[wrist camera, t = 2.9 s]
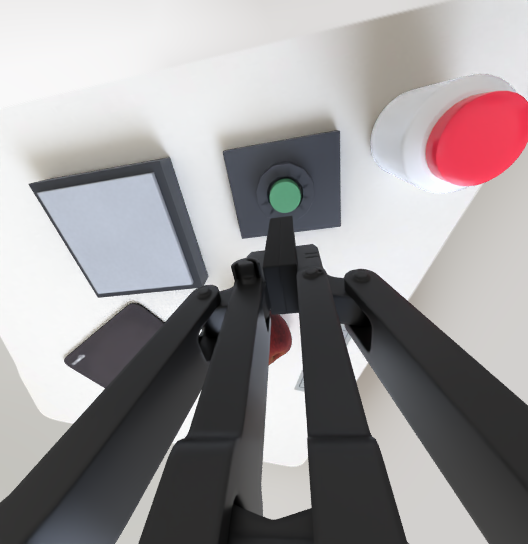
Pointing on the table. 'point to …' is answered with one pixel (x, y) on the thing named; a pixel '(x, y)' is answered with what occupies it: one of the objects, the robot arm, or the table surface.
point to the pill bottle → (451, 133)
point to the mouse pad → (114, 344)
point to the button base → (287, 165)
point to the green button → (285, 195)
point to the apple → (279, 338)
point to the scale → (126, 228)
